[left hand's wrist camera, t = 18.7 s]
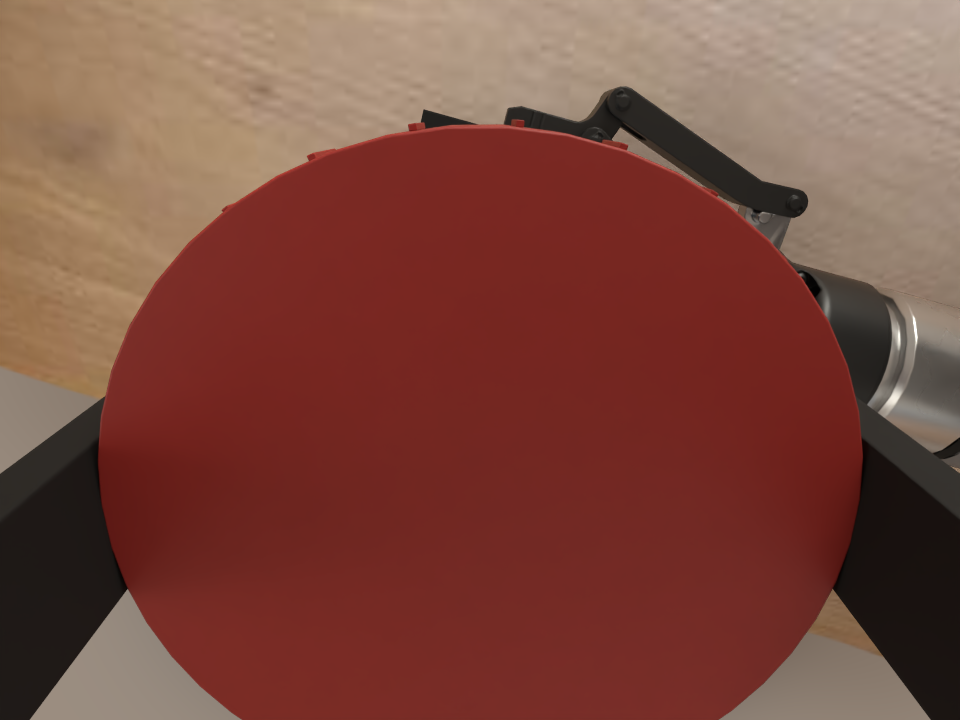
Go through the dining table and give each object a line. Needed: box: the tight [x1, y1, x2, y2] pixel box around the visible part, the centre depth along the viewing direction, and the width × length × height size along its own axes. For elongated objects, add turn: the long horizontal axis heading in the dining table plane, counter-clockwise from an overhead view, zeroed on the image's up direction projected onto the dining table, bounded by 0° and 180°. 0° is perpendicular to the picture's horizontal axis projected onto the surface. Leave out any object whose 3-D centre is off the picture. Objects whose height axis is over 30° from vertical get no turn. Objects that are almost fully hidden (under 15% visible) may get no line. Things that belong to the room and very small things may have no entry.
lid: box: [98, 120, 863, 720], centre depth 11 cm, size 12×12×2 cm
